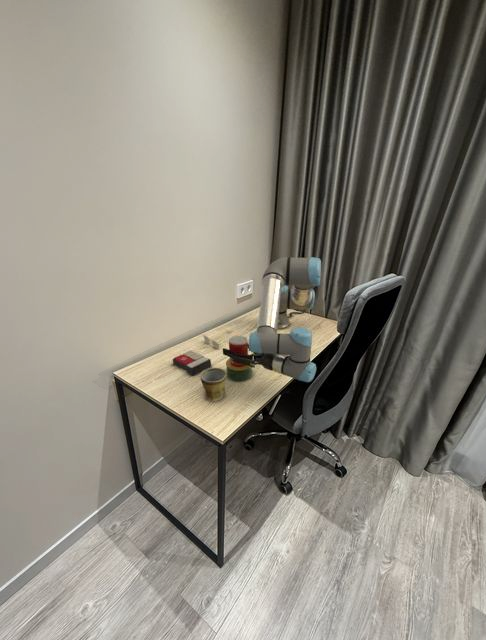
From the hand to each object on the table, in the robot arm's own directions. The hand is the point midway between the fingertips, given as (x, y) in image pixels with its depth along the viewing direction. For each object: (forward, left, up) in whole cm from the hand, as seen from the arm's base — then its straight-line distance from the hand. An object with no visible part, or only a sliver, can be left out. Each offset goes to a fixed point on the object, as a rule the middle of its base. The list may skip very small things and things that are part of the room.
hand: (229, 347), depth 121 cm
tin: (0, +5, -12) cm, 13 cm away
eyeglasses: (-23, -22, -12) cm, 34 cm away
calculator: (+6, -18, -12) cm, 23 cm away
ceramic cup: (+17, +5, -12) cm, 21 cm away
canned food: (0, +5, -6) cm, 8 cm away
